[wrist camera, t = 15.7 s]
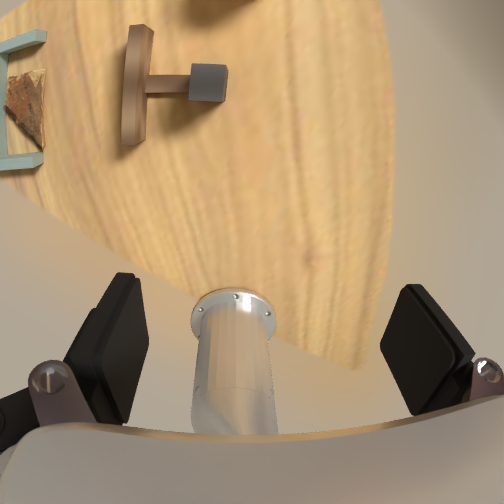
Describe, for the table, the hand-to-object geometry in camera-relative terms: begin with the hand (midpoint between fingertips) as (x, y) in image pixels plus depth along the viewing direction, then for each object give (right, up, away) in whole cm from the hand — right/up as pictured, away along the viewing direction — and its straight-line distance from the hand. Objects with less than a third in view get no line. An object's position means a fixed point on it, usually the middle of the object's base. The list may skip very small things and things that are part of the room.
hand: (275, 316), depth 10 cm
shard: (-28, +22, +17) cm, 40 cm away
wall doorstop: (-9, +20, +18) cm, 29 cm away
